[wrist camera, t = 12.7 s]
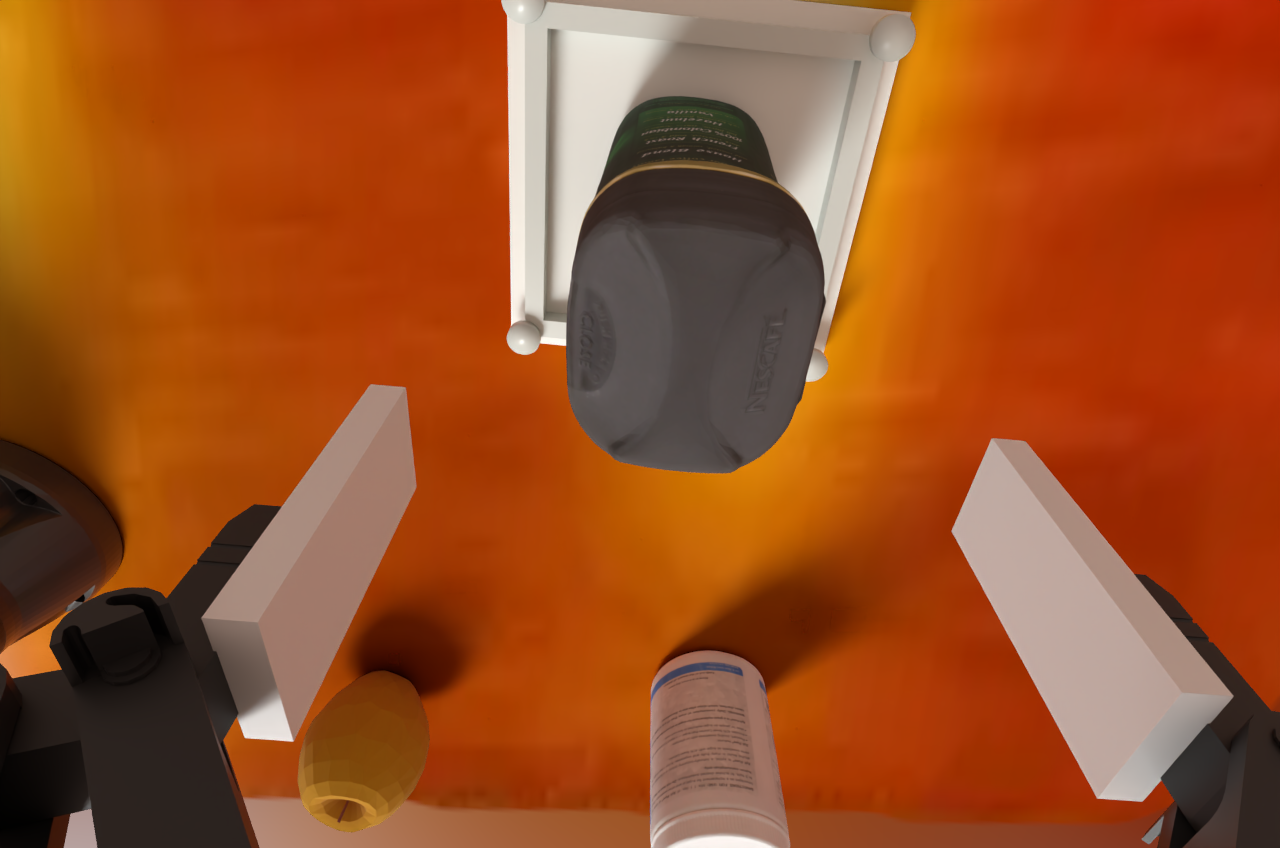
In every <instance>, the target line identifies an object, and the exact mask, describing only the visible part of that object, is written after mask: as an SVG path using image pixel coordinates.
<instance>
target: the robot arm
mask: <svg viewBox="0 0 1280 848" xmlns="http://www.w3.org/2000/svg"><path fill="white" fill-rule="evenodd" d="M415 489H416V479H415V469H414V460H413V451H412V441H411V432H410V422H409V413H408V404H407V394H406V387H395V386H383V385H372V384H371V385H370V386H369V387H368V389H367V390H366V391H365V393H364V394H363V396H362V397H361V398H360V400H359V401H358V403H357V404H356V405H355V407H354V408H353V409H352V411H351V412H350V414H349V415H348V416H347V418H346V419H345V420H344V422H343V423H342V425H341V426H340V427H339V429H338V430H337V431H336V433H335V434H334V436H333V437H332V438H331V440H330V441H329V443H328V444H327V445H326V447H325V448H324V449H323V451H322V452H321V454H320V455H319V456H318V458H317V459H316V460H315V462H314V463H313V465H312V466H311V467H310V469H309V470H308V471H307V473H306V474H305V476H304V477H303V478H302V480H301V481H300V483H299V484H298V485H297V487H296V488H295V489H294V491H293V492H292V494H291V495H290V496H289V498H288V499H287V500H286V502H285V503H284V505H283V506H282V507H280V506H268V505H256V504H254V505H253V506H251V507H250V508H248V509H247V510H245V511H244V512H242V513H241V514H239V515H238V516H236V517H235V518H233V519H232V520H230V521H229V522H228V523H227V524H226V525H225V526H224V528H223V529H222V530H221V531H220V533H219V534H218V535H217V536H216V538H215V539H214V540H213V541H212V543H211V547H208V548H207V549H206V550H205V551H204V553H203V554H202V555H201V556H200V558H199V559H198V560H197V561H198V562H197V564H196V565H193V566H192V567H191V569H190V570H189V571H188V572H187V574H186V575H185V576H184V577H183V579H182V580H181V581H180V582H179V584H178V585H177V586H176V587H175V589H174V590H173V591H172V592H171V594H170V595H169V596H168V597H167V598H165V597H164V596H163V594H162V593H161V592H158V591H155V590H152V589H149V588H124V589H120V590H115V591H111V592H107V593H104V594H101V595H99V596H97V597H95V598H93V599H91V598H92V597H93V596H94V595H95V594H96V593H97V592H98V591H99V590H100V589H101V588H102V587H103V586H104V585H105V584H106V583H107V582H108V581H109V580H110V579H111V578H112V577H113V575H114V574H115V573H116V571H117V570H118V568H119V566H120V563H121V560H122V551H123V550H122V541H121V537H120V534H119V531H118V528H117V526H116V524H115V522H114V520H113V519H112V517H111V515H110V514H109V512H108V511H107V509H106V508H105V507H104V505H103V504H102V503H101V502H100V501H99V499H98V498H97V497H96V496H95V495H94V494H93V493H92V492H91V491H90V490H89V489H88V488H87V487H86V486H85V485H83V484H82V483H81V482H80V481H79V480H77V479H76V478H75V477H74V476H72V475H71V474H70V473H68V472H67V471H65V470H64V469H62V468H61V467H59V466H58V465H56V464H54V463H53V462H51V461H49V460H48V459H46V458H44V457H42V456H40V455H38V454H36V453H34V452H32V451H30V450H27V449H25V448H23V447H20V446H17V445H15V444H12V443H9V442H6V441H3V440H0V654H1V653H2V652H3V651H4V650H5V649H6V648H7V647H8V646H10V645H12V644H13V643H15V642H17V641H19V640H20V639H22V638H24V637H26V636H28V635H29V634H31V633H33V632H35V631H36V630H38V629H40V628H42V627H43V626H45V625H47V624H48V623H50V622H52V621H53V620H55V619H57V618H58V617H60V616H61V615H63V614H64V613H65V612H68V611H71V610H73V609H74V610H73V611H71V612H70V613H68V614H67V615H66V616H64V618H63V619H62V620H61V621H60V623H59V624H58V625H57V627H56V628H55V629H54V630H53V632H52V636H51V641H50V648H51V650H52V652H53V654H54V655H55V657H56V659H57V661H58V663H59V665H60V666H61V668H62V670H57V671H51V672H46V673H40V674H35V675H29V676H23V677H18V678H11V676H10V674H9V673H8V671H7V670H6V669H5V668H4V667H3V666H2V665H1V664H0V848H64V843H65V838H66V833H67V827H68V823H69V817H70V814H71V813H75V812H79V811H84V810H88V809H91V810H92V816H93V822H94V828H95V835H96V841H97V847H98V848H259V845H258V842H257V839H256V837H255V833H254V830H253V827H252V824H251V821H250V818H249V816H248V812H247V809H246V806H245V803H244V800H243V797H242V794H241V791H240V788H239V785H238V782H237V779H236V776H235V773H234V770H233V767H232V764H231V761H230V758H229V755H228V752H227V749H226V747H225V744H224V741H223V739H224V738H225V736H226V734H227V732H228V731H229V729H230V727H231V725H232V724H233V722H234V720H235V719H236V717H237V718H238V720H239V723H240V726H241V729H242V731H243V734H244V737H245V738H253V739H267V740H281V741H294V739H295V737H296V735H297V733H298V731H299V729H300V727H301V725H302V723H303V721H304V719H305V717H306V715H307V712H308V710H309V708H310V706H311V704H312V702H313V700H314V698H315V696H316V694H317V692H318V690H319V688H320V686H321V683H322V681H323V679H324V677H325V675H326V673H327V671H328V669H329V667H330V665H331V663H332V661H333V659H334V657H335V654H336V652H337V650H338V648H339V646H340V644H341V642H342V640H343V638H344V636H345V634H346V632H347V630H348V628H349V625H350V623H351V621H352V619H353V617H354V615H355V613H356V611H357V609H358V607H359V605H360V603H361V601H362V599H363V597H364V594H365V592H366V590H367V588H368V586H369V584H370V582H371V580H372V578H373V576H374V574H375V572H376V570H377V568H378V565H379V563H380V561H381V559H382V557H383V555H384V553H385V551H386V549H387V547H388V545H389V543H390V541H391V539H392V536H393V534H394V532H395V530H396V528H397V526H398V524H399V522H400V520H401V518H402V516H403V514H404V512H405V510H406V507H407V505H408V503H409V501H410V499H411V497H412V495H413V493H414V491H415ZM952 533H953V535H954V536H955V538H956V540H957V542H958V544H959V546H960V547H961V549H962V551H963V553H964V555H965V557H966V558H967V560H968V562H969V564H970V566H971V568H972V569H973V571H974V573H975V575H976V577H977V579H978V580H979V582H980V584H981V586H982V588H983V590H984V591H985V593H986V595H987V597H988V599H989V601H990V602H991V604H992V606H993V608H994V610H995V612H996V613H997V615H998V617H999V619H1000V621H1001V623H1002V624H1003V626H1004V628H1005V630H1006V632H1007V634H1008V635H1009V637H1010V639H1011V641H1012V643H1013V645H1014V646H1015V648H1016V650H1017V652H1018V654H1019V656H1020V657H1021V659H1022V661H1023V663H1024V665H1025V667H1026V668H1027V670H1028V672H1029V674H1030V676H1031V678H1032V679H1033V681H1034V683H1035V685H1036V687H1037V689H1038V690H1039V692H1040V694H1041V696H1042V698H1043V700H1044V701H1045V703H1046V705H1047V707H1048V709H1049V711H1050V713H1051V714H1052V716H1053V718H1054V720H1055V722H1056V724H1057V725H1058V727H1059V729H1060V731H1061V733H1062V735H1063V736H1064V738H1065V740H1066V742H1067V744H1068V746H1069V747H1070V749H1071V751H1072V753H1073V755H1074V757H1075V758H1076V760H1077V762H1078V764H1079V766H1080V768H1081V769H1082V771H1083V773H1084V775H1085V777H1086V779H1087V780H1088V782H1089V784H1090V786H1091V788H1092V790H1093V791H1094V793H1095V795H1096V797H1097V798H1099V799H1113V800H1127V801H1141V802H1143V800H1144V799H1145V798H1146V797H1147V796H1148V795H1149V794H1150V792H1151V791H1152V790H1153V789H1154V788H1155V787H1156V786H1157V784H1158V783H1159V782H1160V781H1161V780H1162V781H1163V783H1164V785H1165V786H1166V788H1167V789H1168V791H1169V792H1170V794H1171V796H1172V797H1173V799H1174V800H1175V801H1174V802H1173V803H1172V804H1171V805H1170V807H1169V808H1168V809H1167V810H1166V811H1165V812H1164V813H1163V814H1162V815H1161V816H1160V817H1159V819H1158V820H1157V821H1156V822H1155V823H1154V824H1153V825H1152V826H1151V827H1150V828H1149V830H1148V831H1147V832H1146V833H1145V835H1144V837H1143V838H1142V840H1143V841H1145V842H1146V843H1148V844H1150V843H1151V842H1152V841H1153V840H1154V839H1155V838H1156V837H1157V836H1160V837H1159V842H1158V847H1157V848H1280V712H1275V711H1271V710H1270V709H1269V708H1268V707H1267V706H1266V704H1265V703H1264V702H1263V701H1262V700H1261V698H1260V697H1259V696H1258V695H1257V694H1256V693H1255V691H1254V690H1253V689H1252V688H1251V687H1250V686H1249V684H1248V683H1247V682H1246V681H1245V680H1244V679H1243V677H1242V676H1241V675H1240V674H1239V673H1238V671H1237V670H1236V669H1235V668H1234V667H1233V666H1232V664H1231V663H1230V662H1229V661H1228V660H1227V659H1226V657H1225V656H1224V655H1223V654H1222V653H1221V652H1220V650H1219V649H1218V648H1217V647H1216V646H1215V645H1214V643H1212V642H1209V641H1208V638H1209V637H1208V636H1207V635H1206V634H1205V633H1204V632H1203V630H1202V629H1201V628H1200V627H1199V626H1198V625H1197V623H1193V622H1192V620H1193V619H1192V618H1191V616H1190V615H1189V614H1188V613H1187V612H1186V610H1185V609H1184V608H1183V607H1182V606H1181V605H1180V603H1179V602H1178V601H1177V600H1176V599H1175V598H1174V596H1173V595H1171V594H1170V593H1169V592H1167V591H1166V590H1165V589H1163V588H1162V587H1161V586H1159V585H1158V584H1157V583H1155V582H1154V581H1153V580H1151V579H1150V578H1149V577H1147V576H1146V575H1140V574H1133V572H1132V571H1131V570H1130V569H1129V568H1128V566H1127V565H1126V564H1125V563H1124V561H1123V560H1122V559H1121V558H1120V557H1119V555H1118V554H1117V553H1116V552H1115V550H1114V549H1113V548H1112V547H1111V546H1110V544H1109V543H1108V542H1107V541H1106V539H1105V538H1104V537H1103V536H1102V535H1101V533H1100V532H1099V531H1098V530H1097V528H1096V527H1095V526H1094V525H1093V523H1092V522H1091V521H1090V520H1089V519H1088V517H1087V516H1086V515H1085V514H1084V512H1083V511H1082V510H1081V509H1080V508H1079V506H1078V505H1077V504H1076V503H1075V501H1074V500H1073V499H1072V498H1071V497H1070V495H1069V494H1068V493H1067V492H1066V490H1065V489H1064V488H1063V487H1062V486H1061V484H1060V483H1059V482H1058V481H1057V479H1056V478H1055V477H1054V476H1053V475H1052V473H1051V472H1050V471H1049V470H1048V468H1047V467H1046V466H1045V465H1044V464H1043V462H1042V461H1041V460H1040V459H1039V457H1038V456H1037V455H1036V454H1035V453H1034V451H1033V450H1032V449H1031V448H1030V446H1029V445H1028V444H1027V443H1026V442H1025V441H1018V440H1006V439H995V438H992V439H991V442H990V444H989V446H988V448H987V451H986V453H985V455H984V458H983V460H982V462H981V465H980V467H979V469H978V471H977V474H976V476H975V478H974V481H973V483H972V485H971V488H970V490H969V492H968V494H967V497H966V499H965V501H964V504H963V506H962V508H961V511H960V513H959V515H958V518H957V520H956V522H955V524H954V527H953V529H952Z"/></svg>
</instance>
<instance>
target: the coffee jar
mask: <svg viewBox="0 0 1280 848" xmlns="http://www.w3.org/2000/svg"><path fill="white" fill-rule="evenodd" d="M824 286H825V276H824V266H823V261H822V256H821V253H820V250H819V247H818V243H817V240H816V235H815V232H814V229H813V227H812V224H811V222H810V220H809V218H808V216H807V214H806V212H805V210H804V209H803V207H802V205H801V204H800V203H799V202H798V201H797V200H796V198H795V197H794V196H793V195H792V194H791V193H790V192H789V191H788V190H786V189H785V188H784V187H783V186H781V185H780V184H779V183H778V181H777V178H776V176H775V172H774V169H773V165H772V162H771V158H770V155H769V151H768V148H767V145H766V142H765V140H764V137H763V135H762V133H761V131H760V129H759V127H758V125H757V124H756V122H755V121H754V120H753V119H752V118H751V117H750V115H749V114H747V113H746V112H744V111H743V110H741V109H740V108H738V107H736V106H734V105H731V104H728V103H725V102H721V101H717V100H711V99H704V98H698V97H687V96H667V97H659V98H654V99H650V100H647V101H645V102H643V103H641V104H639V105H638V106H636V107H635V108H633V109H632V110H631V111H630V112H629V113H628V114H627V115H626V116H625V118H624V119H623V121H622V122H621V124H620V126H619V127H618V129H617V132H616V134H615V137H614V140H613V143H612V146H611V149H610V152H609V155H608V159H607V162H606V165H605V168H604V171H603V175H602V178H601V180H600V183H599V186H598V189H597V192H596V195H595V198H594V199H593V201H592V202H591V204H590V205H589V207H588V209H587V211H586V213H585V216H584V219H583V221H582V224H581V228H580V232H579V237H578V241H577V246H576V252H575V257H574V261H573V266H572V272H571V283H570V291H569V296H568V304H567V324H566V358H567V385H568V395H569V399H570V404H571V407H572V410H573V412H574V414H575V417H576V419H577V420H578V422H579V424H580V425H581V427H582V428H583V430H584V431H585V432H586V434H587V435H588V436H589V437H590V438H591V439H592V440H593V442H594V443H595V444H597V445H598V446H599V447H600V448H601V449H603V450H604V451H606V452H607V453H608V454H610V455H611V456H612V457H613V458H614V459H615V460H617V461H619V462H623V463H628V464H633V465H638V466H644V467H650V468H657V469H664V470H673V471H683V472H696V473H731V472H733V471H735V470H736V469H738V468H739V467H742V466H744V465H746V464H748V463H750V462H752V461H754V460H755V459H757V458H759V457H760V456H761V455H763V454H764V453H765V452H766V451H768V450H769V449H770V448H771V447H772V446H773V445H774V444H775V443H776V442H777V440H778V439H779V438H780V437H781V435H782V434H783V433H784V432H785V430H786V428H787V427H788V425H789V423H790V421H791V419H792V416H793V414H794V411H795V408H796V406H797V404H798V403H799V402H800V400H801V399H802V395H803V390H804V386H805V381H806V377H807V373H808V369H809V366H810V362H811V358H812V354H813V350H814V345H815V341H816V337H817V334H818V330H819V327H820V323H821V319H822V315H823V312H824V308H825V304H826V298H825V295H824Z"/></svg>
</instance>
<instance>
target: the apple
mask: <svg viewBox="0 0 1280 848" xmlns="http://www.w3.org/2000/svg"><path fill="white" fill-rule="evenodd" d="M429 741H430V737H429V726H428V720H427V717H426V714H425V711H424V708H423V705H422V702H421V699H420V697H419V695H418V693H417V691H416V689H415V687H414V686H413V685H412V683H411V682H410V681H409V680H407V679H405V678H403V677H401V676H399V675H397V674H394V673H391V672H388V671H373V672H371V673H368V674H366V675H364V676H362V677H359V678H358V679H356V680H355V681H353V682H352V683H351V684H349V685H348V686H347V687H345V688H344V689H342V690H341V691H340V692H338V693H337V694H336V695H335V696H334V697H333V698H332V699H331V701H330V702H329V703H328V704H327V705H326V706H325V707H324V708H323V709H322V711H321V712H320V713H319V714H318V715H317V716H316V717H315V719H314V720H313V721H312V723H311V725H310V727H309V729H308V731H307V733H306V735H305V738H304V742H303V746H302V749H301V753H300V757H299V770H298V785H299V790H300V796H301V800H302V803H303V806H304V807H305V808H306V809H307V811H308V812H309V813H310V814H311V815H312V816H314V817H315V818H316V819H317V820H319V821H320V822H322V823H324V824H325V825H327V826H329V827H332V828H334V829H337V830H339V831H345V832H355V831H359V830H363V829H365V828H369V827H372V826H375V825H377V824H380V823H382V822H383V821H384V820H386V819H387V818H388V817H390V816H391V815H392V814H393V813H394V812H395V811H396V810H397V809H398V808H399V807H400V806H401V805H402V804H403V803H404V801H405V800H406V799H407V798H408V796H409V795H410V794H411V793H412V791H413V790H414V789H415V787H416V785H417V782H418V780H419V778H420V776H421V774H422V772H423V770H424V767H425V762H426V758H427V753H428V749H429Z"/></svg>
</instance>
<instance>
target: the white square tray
mask: <svg viewBox="0 0 1280 848" xmlns="http://www.w3.org/2000/svg"><path fill="white" fill-rule="evenodd" d="M501 1H502V6H503V8H504V11H505V12H506V14H507V27H508V105H509V183H510V261H511V328H510V330H509V332H508V334H507V342H508V345H509V346H510V348H511V349H512V350H513V351H515V352H516V353H519V354H523V355H527V354H531V353H533V352H535V351H536V350H537V348H538V346H539V344H540V343H543V344H554V345H564V346H566V324H567V304H568V296H569V291H570V283H571V272H572V266H573V261H574V257H575V252H576V246H577V241H578V237H579V232H580V228H581V224H582V221H583V219H584V216H585V213H586V211H587V209H588V207H589V205H590V204H591V202H592V201H593V199H594V198H595V195H596V192H597V189H598V186H599V183H600V180H601V178H602V175H603V171H604V168H605V165H606V162H607V159H608V155H609V152H610V149H611V146H612V143H613V140H614V137H615V134H616V132H617V129H618V127H619V126H620V124H621V122H622V121H623V119H624V118H625V116H626V115H627V114H628V113H629V112H630V111H631V110H632V109H633V108H635V107H636V106H638V105H639V104H641V103H643V102H645V101H647V100H650V99H654V98H659V97H667V96H687V97H698V98H704V99H711V100H717V101H721V102H725V103H728V104H731V105H734V106H736V107H738V108H740V109H741V110H743V111H744V112H746V113H747V114H749V115H750V117H751V118H752V119H753V120H754V121H755V122H756V124H757V125H758V127H759V129H760V131H761V133H762V135H763V137H764V140H765V142H766V145H767V148H768V151H769V155H770V158H771V162H772V165H773V169H774V172H775V176H776V178H777V181H778V183H779V184H780V185H781V186H783V187H784V188H785V189H786V190H788V191H789V192H790V193H791V194H792V195H793V196H794V197H795V198H796V200H797V201H798V202H799V203H800V204H801V205H802V207H803V209H804V210H805V212H806V214H807V216H808V218H809V220H810V222H811V224H812V227H813V229H814V232H815V235H816V240H817V243H818V247H819V250H820V253H821V256H822V261H823V266H824V276H825V286H824V295H825V298H826V304H825V308H824V312H823V315H822V319H821V323H820V327H819V330H818V334H817V337H816V341H815V345H814V350H813V354H812V358H811V362H810V366H809V369H808V373H807V377H806V381H816V380H818V379H820V378H821V377H823V376H824V374H825V373H826V371H827V369H828V362H827V360H826V357H825V355H824V349H825V345H826V341H827V337H828V333H829V329H830V326H831V322H832V318H833V314H834V310H835V306H836V302H837V298H838V295H839V291H840V287H841V283H842V279H843V275H844V271H845V268H846V264H847V260H848V256H849V252H850V248H851V244H852V240H853V237H854V233H855V229H856V225H857V221H858V217H859V213H860V209H861V206H862V202H863V198H864V194H865V190H866V186H867V182H868V178H869V175H870V171H871V167H872V163H873V159H874V155H875V151H876V148H877V144H878V140H879V136H880V132H881V128H882V124H883V120H884V117H885V113H886V109H887V105H888V101H889V97H890V93H891V89H892V86H893V82H894V78H895V74H896V70H897V66H898V62H899V60H900V59H902V58H903V57H904V56H905V55H907V53H908V52H909V51H910V50H911V48H912V46H913V44H914V41H915V35H916V32H915V27H914V24H913V22H912V21H911V19H910V16H911V12H901V11H892V10H882V9H873V8H863V7H854V6H844V5H835V4H825V3H816V2H806V1H797V0H501Z"/></svg>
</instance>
